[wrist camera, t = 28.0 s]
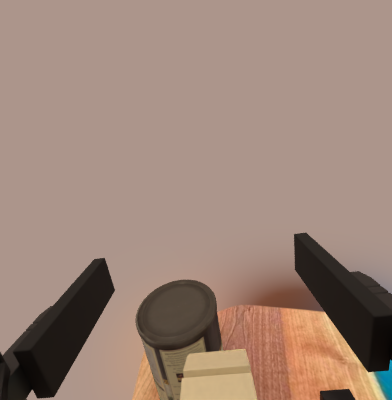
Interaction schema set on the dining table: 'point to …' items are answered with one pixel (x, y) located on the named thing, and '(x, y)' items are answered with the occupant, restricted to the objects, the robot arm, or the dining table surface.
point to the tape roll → (218, 376)
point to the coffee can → (177, 330)
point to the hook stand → (336, 395)
